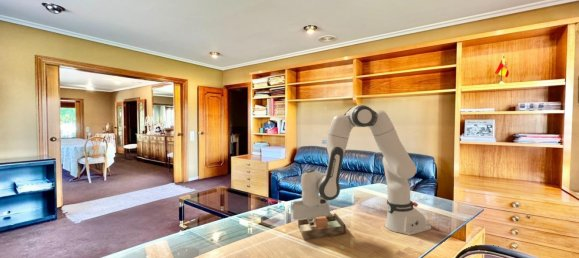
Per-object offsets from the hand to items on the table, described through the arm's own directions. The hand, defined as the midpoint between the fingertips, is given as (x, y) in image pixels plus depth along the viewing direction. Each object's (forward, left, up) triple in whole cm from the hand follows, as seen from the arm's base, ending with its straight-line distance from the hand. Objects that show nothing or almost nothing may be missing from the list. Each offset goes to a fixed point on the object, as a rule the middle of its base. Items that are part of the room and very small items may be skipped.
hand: (311, 225), depth 137 cm
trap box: (-5, 0, -4) cm, 6 cm away
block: (-5, 0, -1) cm, 5 cm away
